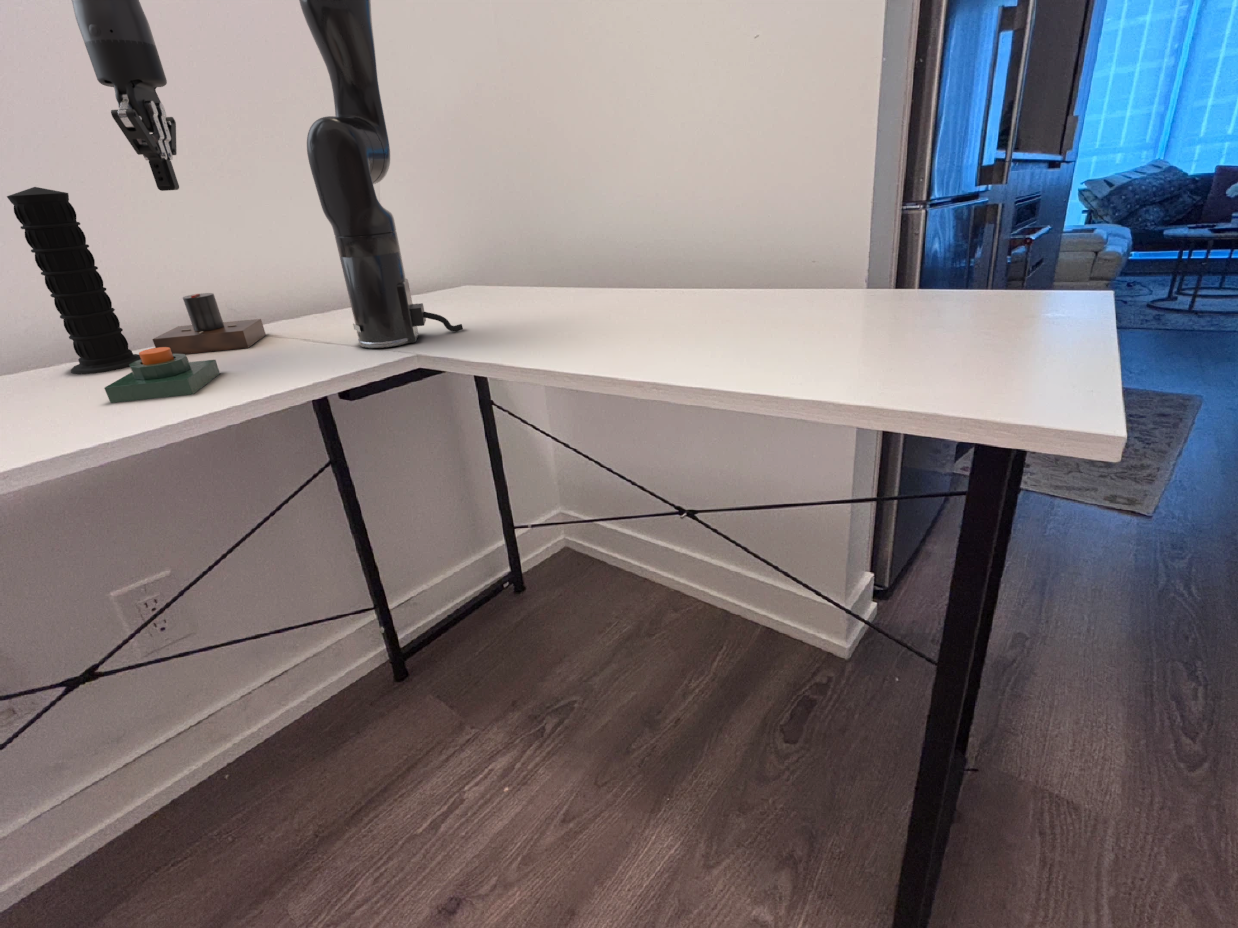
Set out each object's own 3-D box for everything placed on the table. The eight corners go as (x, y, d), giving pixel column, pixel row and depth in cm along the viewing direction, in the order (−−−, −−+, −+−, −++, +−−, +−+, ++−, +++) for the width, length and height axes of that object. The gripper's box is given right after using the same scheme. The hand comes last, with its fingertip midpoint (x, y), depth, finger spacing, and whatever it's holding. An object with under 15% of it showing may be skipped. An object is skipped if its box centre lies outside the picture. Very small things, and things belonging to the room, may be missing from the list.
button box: (220, 373, 92) (211, 347, 91) (193, 394, 83) (182, 365, 82) (146, 381, 91) (135, 354, 89) (110, 403, 82) (98, 374, 80)
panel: (266, 334, 115) (260, 317, 114) (248, 348, 106) (242, 329, 105) (183, 342, 113) (177, 325, 112) (158, 356, 104) (151, 338, 103)
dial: (199, 326, 110) (188, 292, 107) (228, 323, 111) (217, 290, 108) (189, 332, 106) (177, 297, 103) (219, 329, 107) (207, 294, 104)
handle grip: (54, 374, 97) (106, 375, 95) (-32, 190, 86) (25, 186, 84) (112, 356, 106) (161, 356, 104) (42, 187, 94) (95, 183, 92)
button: (179, 358, 87) (174, 345, 87) (167, 364, 84) (163, 352, 83) (150, 360, 87) (146, 348, 86) (138, 367, 84) (133, 355, 83)
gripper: (126, 30, 74) (178, 189, 81) (174, 50, 86) (216, 187, 93) (55, 32, 73) (115, 193, 80) (114, 52, 85) (161, 191, 92)
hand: (169, 190), depth 87 cm, fingers closed
